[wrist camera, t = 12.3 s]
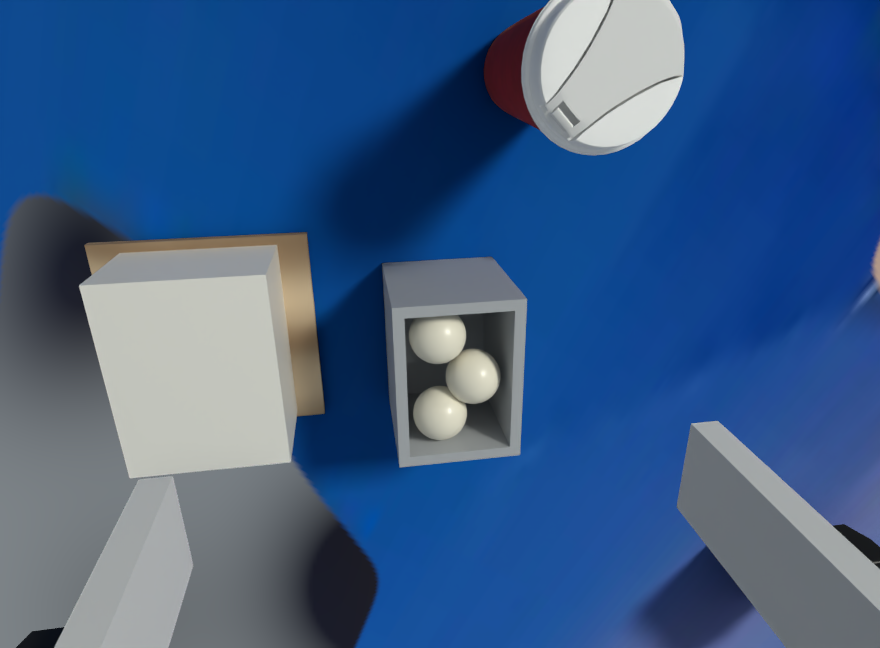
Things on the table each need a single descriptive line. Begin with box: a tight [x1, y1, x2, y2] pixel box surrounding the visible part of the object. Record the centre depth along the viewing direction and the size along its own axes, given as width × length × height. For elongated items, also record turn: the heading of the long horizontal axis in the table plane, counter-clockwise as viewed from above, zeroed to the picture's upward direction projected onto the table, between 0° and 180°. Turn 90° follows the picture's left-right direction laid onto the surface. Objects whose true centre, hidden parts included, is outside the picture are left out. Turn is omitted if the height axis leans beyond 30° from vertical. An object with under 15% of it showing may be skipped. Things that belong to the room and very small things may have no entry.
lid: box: [79, 245, 297, 478], centre depth 39 cm, size 13×10×7 cm
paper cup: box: [484, 0, 684, 155], centre depth 33 cm, size 8×8×14 cm
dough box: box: [382, 257, 527, 467], centre depth 41 cm, size 11×8×9 cm
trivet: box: [85, 232, 325, 416], centre depth 42 cm, size 14×14×1 cm
